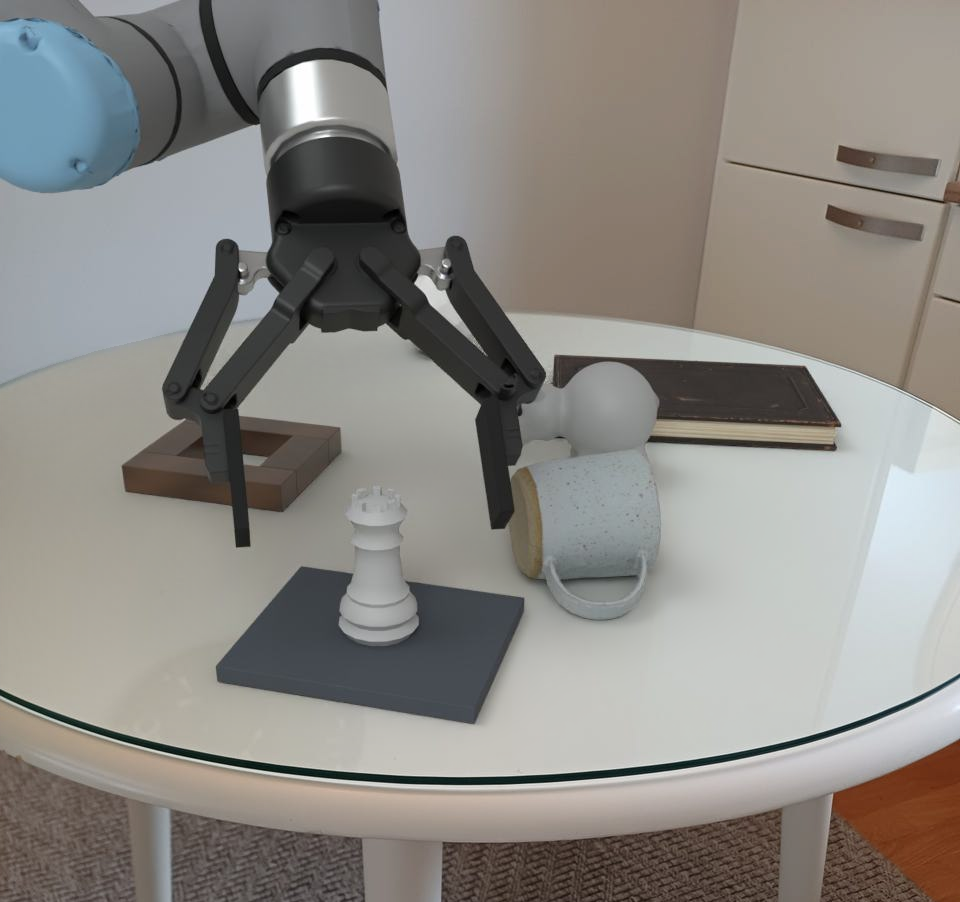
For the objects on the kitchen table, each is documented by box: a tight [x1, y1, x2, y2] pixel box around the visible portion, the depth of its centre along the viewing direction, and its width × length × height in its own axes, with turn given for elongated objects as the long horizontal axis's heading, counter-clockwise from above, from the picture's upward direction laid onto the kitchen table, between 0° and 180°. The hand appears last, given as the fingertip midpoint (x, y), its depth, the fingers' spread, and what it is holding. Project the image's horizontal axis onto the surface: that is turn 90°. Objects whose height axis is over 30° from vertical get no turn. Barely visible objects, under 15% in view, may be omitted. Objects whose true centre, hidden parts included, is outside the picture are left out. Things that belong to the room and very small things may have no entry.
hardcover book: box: [552, 354, 842, 451], centre depth 97 cm, size 16×23×2 cm
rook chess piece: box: [339, 485, 419, 646], centre depth 60 cm, size 4×4×8 cm
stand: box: [121, 415, 343, 513], centre depth 83 cm, size 12×12×2 cm
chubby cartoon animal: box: [517, 362, 659, 464], centre depth 83 cm, size 7×12×8 cm, turn 89°
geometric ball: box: [411, 275, 474, 351], centre depth 109 cm, size 8×8×8 cm
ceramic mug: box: [508, 449, 662, 621], centre depth 68 cm, size 11×8×8 cm
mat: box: [215, 565, 525, 724], centre depth 63 cm, size 14×12×1 cm
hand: (375, 530), depth 58 cm, fingers open, 13 cm apart
